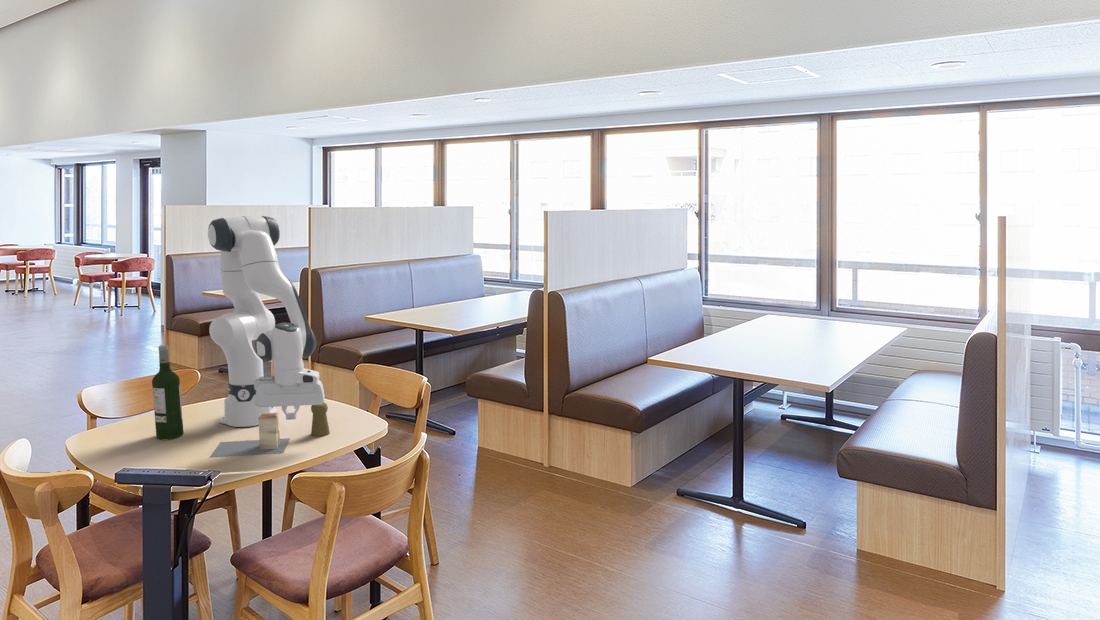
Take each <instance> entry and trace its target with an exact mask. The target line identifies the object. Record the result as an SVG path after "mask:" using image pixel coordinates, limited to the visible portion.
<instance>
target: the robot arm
mask: <svg viewBox="0 0 1100 620" xmlns="http://www.w3.org/2000/svg"><path fill="white" fill-rule="evenodd" d="M207 237H208V240H209V244H210V246H211V247H212V248H213V249H214V250H216V251H220V260H219V261H220V266H219V267H220V275H221V278H220V279H221V286H222V287H221V288H222V294H223V296H225V297H226V298H227V299H229V300H230V302H231V303H232V305H233V308H234V311H232V312H226V313H224V314H222V315H219V316H218V317H216V318H214V319H213V320H212V321H211V322H210V324H209V329H208V330H209V331H208V333H209V336H210V338H211V340H212V342H214V343H215V344H216V345H217V346H219V347H220V349H221V350H222V352H223V354H224V355H225V358H226V361H227V370H228V371H227V372H228V383H227V391H228V395H227V397H225V399H224V405H223V406H224V408H223V409H224V417H222V418H220V419H219V424H225V425H227V426H230V427H238V428H244V427H245V428H247V427H256V426H259V423H258V418H259V416H260V415H261V413H278V412H277V407H281V411H282V412H283V414H284V415H285V421H289V420H297V414H298V411H299V409H300V408H301V406H312V405H321V404H322V403H325V402H324V401H325V390H324V384H323V383H322V381H321V380H320V372H319V371H317V370H313V369H309V368H307V367H306V368H305V364H304V360H303V359H307V358H309V357H310V356H311V355H313V353H314V352H315V350H316V347H317V345H318V344H317V338H316V336H315V333H314V331H313V329H312V328H311V326H310V323H309V321H308V318H307V315H306V313H305V310H304V307H303V304H302V301H301V299H300V297H299V294H298V291H297V288H296V286H295V285H294V283H293V281H292V280H291V279H290V278H287V277H286V276H285V274H284V273H283V271H282V269H281V266H280V264H279V259H278V256H277V251H276V248H275V245H277V243H278V242H279V241H280V237H281V236H280V225H279V223H278V222H277V220H276V219H275V218H273V217H271V216H265V215H262V216H256V215H242V216H234V217H227V218H224V217H221V218H216V219H213V220H211V222H210V223H209V225H208V230H207ZM261 295H265V296H268V297H272V298H274V299H276V300H279V301H280V302H281V303H282V304H283V305H284V307H285V310H286V312H287V315H288V319H289V321H290V322H285V321H284V322H280V323H276V319H275V315H274V314H273V313H272V311H271V310H269V309H268V308H267V307H266V306H265V304H264V302H263V299H262V298H261ZM252 341H255V349H254V347H253V343H252ZM264 362H271V363H272V362H273V375H272V376H271V375H270V376H265V375H264ZM288 407H293V409H294V412H289V411H288V409H287V408H288Z"/></svg>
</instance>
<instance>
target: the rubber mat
mask: <svg viewBox="0 0 1100 620" xmlns="http://www.w3.org/2000/svg"><path fill="white" fill-rule="evenodd" d="M290 440H291V438H289V437H288V438H280V444H279V446H278V448H277V449H262V450H260V440H259V439H253V440H251V439H250V440H235V441H220V442H219V444H218V445H217V447H215V449H214V450H213V451H212V453H211V455H210V456H209V458H225V457H238V456H239V457H243V456H259V455H260V456H261V455H277V454H278V455H279V454H284V452H285V450H286V449H287V448H288V447H287V446H288V444H289V442H290Z"/></svg>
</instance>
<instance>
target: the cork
mask: <svg viewBox="0 0 1100 620" xmlns="http://www.w3.org/2000/svg"><path fill="white" fill-rule="evenodd" d="M310 406H311V407H310V411H311V413H312V420H311V432H310V435H311V436H312V437H314V438H319V437H326V436H329V435H330V433H331V431H330V427H329V426H330V425H329V422H328V416H327V412H328V404H327V403H326V402H323V403H322V404H321V405H310Z"/></svg>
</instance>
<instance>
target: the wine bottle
mask: <svg viewBox="0 0 1100 620" xmlns="http://www.w3.org/2000/svg"><path fill="white" fill-rule="evenodd" d="M158 360H159V364H158V365H159V371H158V372H157V373H156V374H155V375H154V376H153V378H152V380H151V388H152V398H153V409H154V410H153V411H154V423H155V424H154V425H155V436H156V438H157V439H158V440H162V439H168V440H173V439H174V438H175V439H177V438H180V436H181V437H182V436H183V435H184V424H183V423H184V419H183V408H182V407H183V406H182V396H181V395H182V394H181V393H182V392H181V380H180V377H179V376H178V374H177V373H176V372H174V371H173V370H171V369H172V368H171V364H170V355H169V346H168V345H167V344H160V345H158Z"/></svg>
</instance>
